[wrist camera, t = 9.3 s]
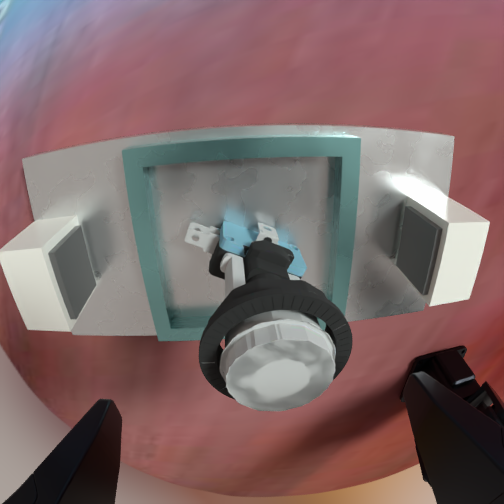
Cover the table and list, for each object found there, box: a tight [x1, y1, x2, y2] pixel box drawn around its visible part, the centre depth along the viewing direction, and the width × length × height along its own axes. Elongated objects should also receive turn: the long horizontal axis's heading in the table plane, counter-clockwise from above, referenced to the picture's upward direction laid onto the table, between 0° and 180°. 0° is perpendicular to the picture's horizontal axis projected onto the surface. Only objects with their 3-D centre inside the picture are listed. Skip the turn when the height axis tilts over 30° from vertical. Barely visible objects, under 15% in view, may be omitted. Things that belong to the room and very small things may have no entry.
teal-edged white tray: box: [22, 123, 454, 341], centre depth 19 cm, size 13×26×3 cm, turn 92°
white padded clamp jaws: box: [0, 196, 490, 332], centre depth 17 cm, size 5×26×4 cm, turn 92°
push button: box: [185, 221, 352, 411], centre depth 14 cm, size 7×5×10 cm
